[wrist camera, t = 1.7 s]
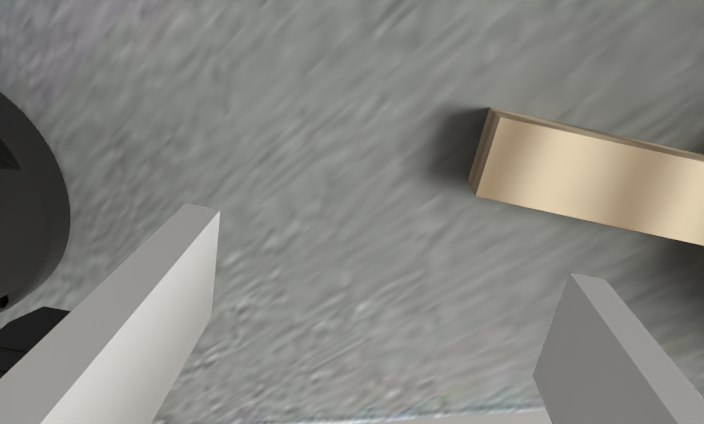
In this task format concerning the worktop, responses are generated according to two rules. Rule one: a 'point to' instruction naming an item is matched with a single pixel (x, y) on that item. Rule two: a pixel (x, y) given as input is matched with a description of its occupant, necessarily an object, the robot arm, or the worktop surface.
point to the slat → (590, 176)
